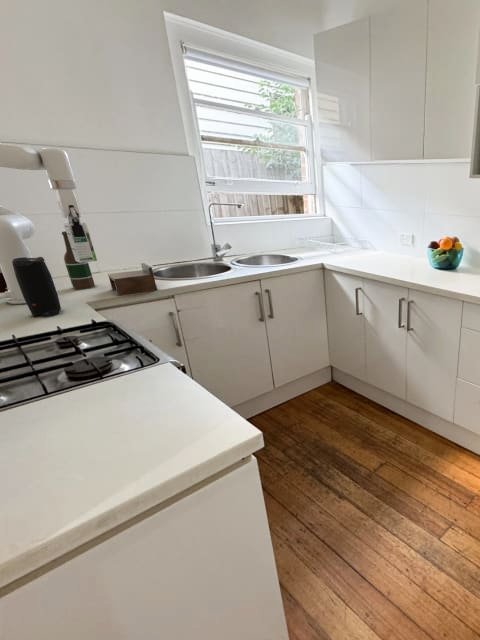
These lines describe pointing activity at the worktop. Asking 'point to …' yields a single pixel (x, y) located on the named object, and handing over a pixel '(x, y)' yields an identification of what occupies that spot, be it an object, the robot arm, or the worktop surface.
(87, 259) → the syrup box
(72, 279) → the beer bottle
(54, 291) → the portable speaker
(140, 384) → the worktop surface
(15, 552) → the worktop surface
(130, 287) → the brown wooden box
